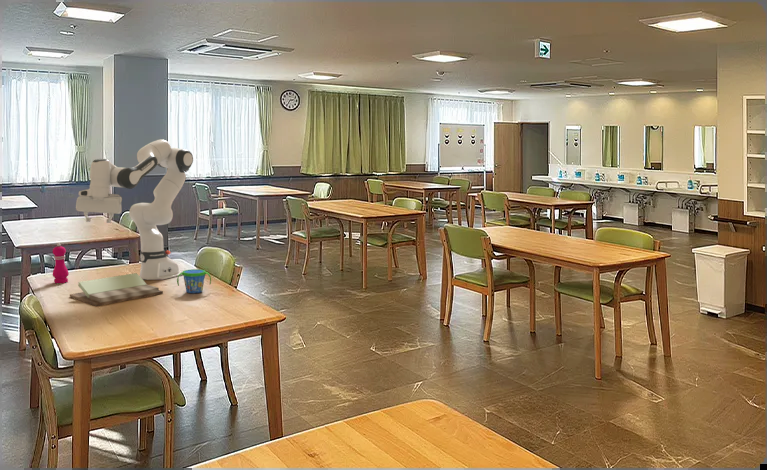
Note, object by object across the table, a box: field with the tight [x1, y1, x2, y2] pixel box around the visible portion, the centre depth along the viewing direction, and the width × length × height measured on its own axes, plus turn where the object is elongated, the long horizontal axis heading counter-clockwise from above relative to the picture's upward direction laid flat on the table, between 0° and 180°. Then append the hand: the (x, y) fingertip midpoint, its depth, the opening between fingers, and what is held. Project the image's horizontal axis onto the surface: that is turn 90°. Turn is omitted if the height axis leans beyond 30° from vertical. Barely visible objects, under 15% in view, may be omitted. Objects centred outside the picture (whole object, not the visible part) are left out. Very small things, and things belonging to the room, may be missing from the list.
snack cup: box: [176, 268, 212, 294], centre depth 310 cm, size 16×10×10 cm
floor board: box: [69, 284, 164, 307], centre depth 303 cm, size 32×25×3 cm
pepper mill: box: [52, 242, 69, 284], centre depth 328 cm, size 7×7×20 cm
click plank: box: [78, 272, 148, 298], centre depth 304 cm, size 28×10×2 cm, turn 140°
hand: (98, 222), depth 310 cm, fingers open, 8 cm apart
